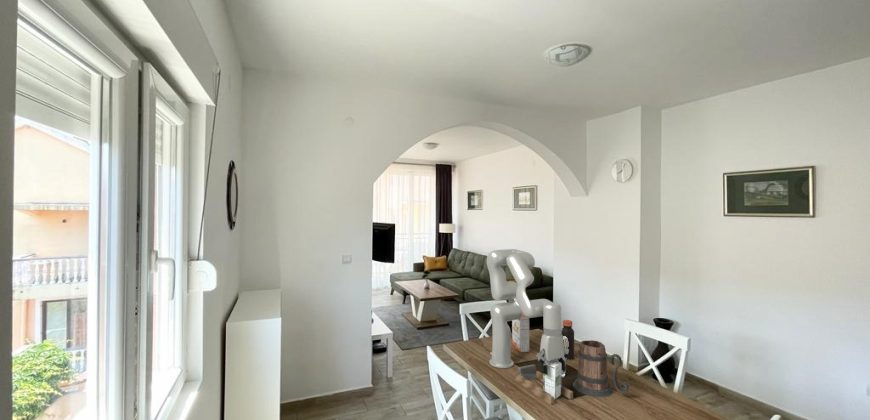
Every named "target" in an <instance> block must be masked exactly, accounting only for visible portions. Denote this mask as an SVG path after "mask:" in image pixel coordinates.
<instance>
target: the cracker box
mask: <svg viewBox="0 0 870 420" xmlns="http://www.w3.org/2000/svg"><path fill="white" fill-rule="evenodd" d="M511 322H512V323H511V325H512V326H511V330H512V332H511V334H512V335H511V336H512V338H511V339H512V342H511V343H512V345H513V346H514V347H515V348H516V349H517V350H518V352H519V353H529V352H530V318H529V317H527V316H525V315H524V314H523V312H522V316H521V318H520V319H517V320H512V321H511Z"/></svg>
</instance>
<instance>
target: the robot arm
mask: <svg viewBox="0 0 870 420" xmlns="http://www.w3.org/2000/svg"><path fill="white" fill-rule="evenodd" d="M535 265H536V261H535V258H534V256H533V255H532V254H531V253H530V252H527V251H524V250H520V249H517V248H511V249H496V250H492V251H490V252H489V253H488V254H487V256H486V267H487V270H488V274H489V281H490V290H491V291H490V292H491V297H492V299H493V300H494V301H497V302H498V301H507V302H499V303H495V304H493V305H492V306H491V307H490V309H489V310H490V319H491V326H492V327H491V329H492V336H491V337H492V341H491V342H492V345H491V346H492V349H491V350H492V351H490V353H489V354H490V355H491V358H490V359H489V361H488V362H489V364H490V366H492V367H495V368H498V369H509V368H512V367H513V366H514V363H515V362H514V360H512V358H511V356H512V355H511V354H512V353H511V351H512V349H511V347H512V346H511V345H512V344H511V343H512V342H511V339H512V338H511V336H512V335H511V334H512V332H511V328H510V326H509V324H508V322H510V321H511V322H512V320H517V319H520V318H521V316H522V312H523V314H524V315H525V316H527V317H529V319H531V318H540V317H543V321H542V322H543V328H542V329H543V334H542V335H541V339H540V347H539V349H540V350H539V352H538V353H536V355H535V357H536V358H537V361H538V362H539V364H540V366H541V367H540V368H541V369H540V370H541V371H540V373H542V374H545V375H547V374H548V371H547V365H546V364H547V362H548V360H558V362H560V363H562V368H561V371H563V372H565V370H566V362H567V359H566V358H567V356H568V352H569V349H567V348H565V347H564V340H563V336H562V330H563V329H562V328H563V327H562V306H561V304H559V303H557V302H553V301H551V300H550V299H546V298H539V299H529V297H528V294H527V292H526V288H527V287H529V286H531V284H533V282H534V280H535V276H534V275H533V273H532V271H531V269H533V268H534V267H535ZM503 266H507V267H508V268H509V271H510V273H511V275H512V277H513V278H514V280H515V281H511V280H510V281H507V274H506V272H505V270H504V268H503Z"/></svg>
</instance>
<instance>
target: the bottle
mask: <svg viewBox="0 0 870 420" xmlns="http://www.w3.org/2000/svg"><path fill="white" fill-rule="evenodd" d="M562 326H563V327H561V328H562V329H563V330H562V336H566V337H567V338H568V341H569V347H568V349H569V352H568V356H567V359H566V361H567V360H568V359H572V360H574V359H575V330H574V329H573V321H572V320H568V319H562Z"/></svg>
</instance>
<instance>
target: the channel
mask: <svg viewBox="0 0 870 420" xmlns="http://www.w3.org/2000/svg"><path fill="white" fill-rule="evenodd" d="M517 370H518V371H517V373H515V381H516V382H517V383H518V384H520V385H522V386H523V387H525V388H526V389H527V390H529V391H530V392H531V393H533V394H535V395H536V396H538V398H540V399H542V400H544V402H546V403H547V404H549V405H550V406H553V405H555V399H554V397H553V396H552V395H550V394H549V393H547V392H546V391H544V390H543V388H541V387H540V386H539V385H536V384H535V383H534V382H532V381H530V380H535V379H537V380H538V381H540V382H542V383H543V373H542V372H541V371H539V370H537V365H536V364H534V363H533V364H528V365H524V366H518V368H517ZM561 396H564V397H565V398H567V399H569V400H574V391H572V390H570V389H569V388H567V387H566V386H564V385H562V384H561Z"/></svg>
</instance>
